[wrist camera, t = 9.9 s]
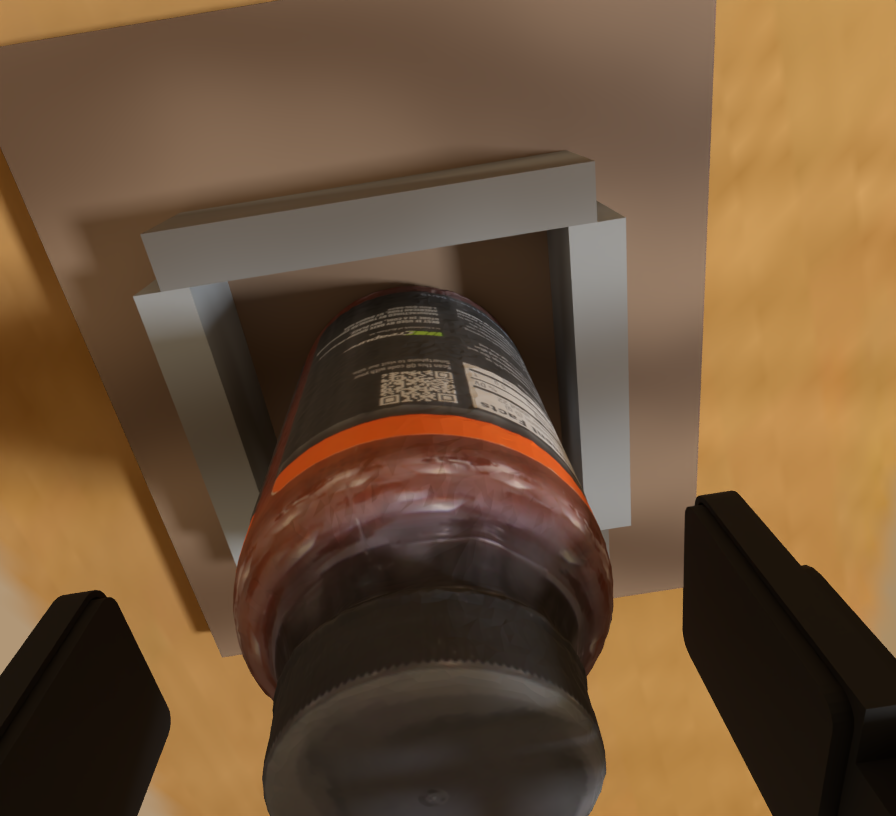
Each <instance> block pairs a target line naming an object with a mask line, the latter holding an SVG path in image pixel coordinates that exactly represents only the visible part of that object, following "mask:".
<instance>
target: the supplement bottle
mask: <svg viewBox="0 0 896 816" xmlns="http://www.w3.org/2000/svg"><path fill="white" fill-rule="evenodd" d="M612 612H613V577H612V566H611V563H610V559H609V555H608V552H607V548H606V542H605V540H604V538H603V536H602V533H601V530H600V527H599V525H598V523H597V521H596V519H595V517H594V515H593V512H592V510H591V508H590V506H589V504H588V502H587V499H586V496H585V493H584V491H583V489H582V487H581V485H580V483H579V481H578V479H577V477H576V475H575V472H574V470H573V468H572V466H571V464H570V462H569V459H568V457H567V455H566V453H565V451H564V449H563V447H562V444H561V442H560V440H559V438H558V436H557V434H556V432H555V429H554V427H553V425H552V423H551V421H550V419H549V416H548V414H547V412H546V410H545V408H544V405H543V403H542V401H541V399H540V396H539V394H538V392H537V390H536V388H535V386H534V384H533V382H532V380H531V377H530V375H529V373H528V371H527V369H526V366H525V364H524V362H523V359H522V357H521V355H520V353H519V350H518V349H517V347H516V346H515V344H514V343H513V341H512V339H511V338H510V337H509V335H508V334H507V332H506V331H505V329H504V328H503V327H502V326H501V324H500V323H499V322H498V321H497V319H496V318H494V317H493V316H492V315H491V314H490V313H489V312H488V311H486V310H485V309H483V308H482V307H480V306H479V305H478V304H477V303H475V302H473V301H471V300H470V299H468V298H466V297H464V296H462V295H459V294H457V293H455V292H453V291H449V290H442V289H437V288H433V287H423V286H399V287H394V288H390V289H385V290H381V291H377V292H374V293H371V294H369V295H368V296H364V297H362V298H360V299H358V300H356V301H354V302H353V303H351V304H350V305H348V306H347V307H345V308H344V309H343V310H342V311H340V312H339V313H338V314H337V315H336V316H335V317H334V318H333V319H332V320H331V321H330V322H329V323H328V324H327V325H326V326H325V328H324V329H323V330H322V331H321V333H320V334H319V336H318V337H317V339H316V340H315V342H314V344H313V346H312V348H311V350H310V352H309V354H308V357H307V359H306V362H305V363H304V365H303V368H302V370H301V373H300V377H299V379H298V382H297V385H296V388H295V391H294V394H293V397H292V401H291V404H290V406H289V409H288V412H287V415H286V417H285V420H284V424H283V427H282V429H281V432H280V435H279V437H278V441H277V444H276V447H275V450H274V452H273V456H272V459H271V462H270V465H269V468H268V471H267V474H266V476H265V479H264V482H263V484H262V486H261V490H260V494H259V496H258V499H257V502H256V504H255V507H254V510H253V513H252V516H251V519H250V524H249V528H248V531H247V534H246V537H245V540H244V543H243V546H242V550H241V553H240V556H239V560H238V564H237V569H236V576H235V583H234V591H233V614H234V621H235V628H236V634H237V638H238V643H239V646H240V649H241V652H242V655H243V657H244V660H245V661H246V664H247V666H248V668H249V670H250V672H251V674H252V676H253V677H254V679H255V680H256V682H257V683H258V685H259V686H260V688H261V689H262V690H263V692H264V693H265V694H266V695H267V696H269V697H270V698H271V699H272V700H273V704H274V705H273V720H272V726H271V732H270V738H269V742H268V746H267V751H266V755H265V760H264V768H263V776H262V780H263V790H264V799H265V802H266V806H267V810H268V812H269V814H270V816H588V815H589V814H590V812H591V811H592V809H593V807H594V805H595V803H596V801H597V798H598V796H599V794H600V792H601V789H602V784H603V780H604V777H605V775H606V760H605V750H604V745H603V740H602V737H601V733H600V730H599V726H598V723H597V720H596V716H595V713H594V711H593V708H592V706H591V703H590V699H589V696H588V692H587V690H588V688H587V675H588V674H589V672H590V671H591V669H592V668H593V666H594V664H595V662H596V660H597V658H598V656H599V655H600V653H601V651H602V649H603V646H604V642H605V639H606V637H607V634H608V632H609V627H610V623H611V620H612Z"/></svg>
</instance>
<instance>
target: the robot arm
mask: <svg viewBox="0 0 896 816" xmlns="http://www.w3.org/2000/svg"><path fill="white" fill-rule="evenodd" d="M683 637H684V641H685V645H686V648H687V651H688V653H689V655H690V657H691V659H692V661H693V663H694V665H695V667H696V669H697V671H698V672H699V674H700V676H701V678H702V680H703V682H704V684H705V686H706V688H707V690H708V692H709V694H710V696H711V698H712V699H713V701H714V703H715V705H716V707H717V709H718V711H719V713H720V715H721V717H722V719H723V721H724V723H725V725H726V726H727V728H728V730H729V732H730V734H731V736H732V738H733V740H734V742H735V744H736V746H737V748H738V750H739V752H740V754H741V755H742V757H743V759H744V761H745V763H746V765H747V767H748V769H749V771H750V773H751V775H752V777H753V779H754V781H755V782H756V784H757V786H758V788H759V790H760V792H761V794H762V796H763V798H764V800H765V802H766V804H767V806H768V808H769V810H770V811H771V813H772V815H773V816H896V658H895V657H894V656H893V655H892V654H891V653H890V652H889V651H888V649H887V648H886V647H885V646H884V645H883V644H882V643H881V642H880V640H879V639H878V638H877V637H876V636H875V635H874V634H873V633H872V631H871V630H870V629H869V628H868V627H867V626H866V625H865V624H864V622H863V621H862V620H861V619H860V618H859V617H858V616H857V615H856V614H855V612H854V611H853V610H852V609H851V608H850V607H849V606H848V605H847V603H846V602H845V601H844V600H843V599H842V598H841V597H840V596H839V594H838V593H837V592H836V591H835V590H834V589H833V588H832V587H831V585H830V584H829V583H828V582H827V581H826V580H825V579H824V578H823V576H822V575H821V574H820V573H818V572H817V571H816V570H815V569H814V568H812V567H810V566H807V565H803V566H801V565H800V564H799V563H798V562H797V561H796V560H795V558H794V557H793V556H792V555H791V554H790V553H789V551H788V550H787V549H786V548H785V547H784V546H783V545H782V543H781V542H780V541H779V540H778V539H777V538H776V536H775V535H774V534H773V533H772V532H771V531H770V529H769V528H768V527H767V526H766V525H765V524H764V523H763V521H762V520H761V519H760V518H759V517H758V516H757V514H756V513H755V512H754V511H753V510H752V509H751V507H750V506H749V505H748V504H747V503H746V502H745V501H744V499H743V498H742V497H741V496H740V495H739V494H738V493H737V492H736V491H726V492H720V493H713V494H707V495H701V496H698V497H697V498H696V500H695V505H694V506H689V507H687V508H686V510H685V524H684V579H683ZM170 724H171V717H170V711H169V708H168V706H167V704H166V702H165V700H164V698H163V696H162V694H161V692H160V690H159V688H158V686H157V684H156V682H155V679H154V677H153V675H152V673H151V671H150V669H149V667H148V665H147V663H146V661H145V659H144V657H143V655H142V653H141V651H140V649H139V647H138V645H137V643H136V640H135V638H134V636H133V634H132V632H131V630H130V628H129V626H128V624H127V622H126V620H125V618H124V616H123V614H122V612H121V610H120V608H119V606H118V604H117V602H116V601H115V599H113V598H111V597H106V595H105V594H104V593H103V592H101V591H98V590H93V591H87V592H80V593H74V594H68V595H62V596H60V597H58V598H57V599H56V600H55V601H54V602H53V603H52V605H51V606H50V607H49V609H48V610H47V611H46V613H45V614H44V616H43V617H42V618H41V620H40V621H39V623H38V624H37V625H36V627H35V628H34V630H33V631H32V632H31V634H30V635H29V637H28V638H27V639H26V641H25V642H24V643H23V645H22V646H21V648H20V649H19V651H18V652H17V653H16V655H15V656H14V658H13V659H12V660H11V662H10V663H9V664H8V666H7V667H6V668H5V670H4V671H3V673H2V674H1V675H0V816H137V815H138V813H139V810H140V807H141V805H142V802H143V800H144V797H145V794H146V792H147V789H148V786H149V784H150V781H151V779H152V776H153V773H154V771H155V768H156V766H157V763H158V760H159V758H160V755H161V752H162V750H163V747H164V745H165V742H166V739H167V737H168V734H169V730H170Z"/></svg>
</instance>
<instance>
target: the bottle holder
mask: <svg viewBox="0 0 896 816" xmlns="http://www.w3.org/2000/svg"><path fill="white" fill-rule="evenodd" d="M715 20H716V0H278V1H272V2H266V3H260V4H254V5H248V6H242V7H236V8H230V9H224V10H218V11H212V12H206V13H200V14H194V15H188V16H182V17H176V18H170V19H164V20H158V21H152V22H146V23H140V24H134V25H128V26H122V27H116V28H110V29H104V30H98V31H92V32H86V33H80V34H74V35H68V36H62V37H56V38H50V39H44V40H38V41H31V42H25V43H19V44H13V45H7V46H1V47H0V147H1V150H2V152H3V154H4V157H5V159H6V161H7V163H8V166H9V168H10V170H11V173H12V175H13V177H14V180H15V182H16V184H17V186H18V189H19V191H20V193H21V196H22V198H23V200H24V203H25V205H26V207H27V209H28V212H29V214H30V216H31V219H32V221H33V223H34V226H35V228H36V230H37V232H38V235H39V237H40V239H41V242H42V244H43V246H44V249H45V251H46V253H47V255H48V258H49V260H50V262H51V265H52V267H53V269H54V272H55V274H56V276H57V278H58V281H59V283H60V285H61V288H62V290H63V292H64V295H65V297H66V299H67V301H68V304H69V306H70V308H71V311H72V313H73V315H74V318H75V320H76V322H77V325H78V327H79V329H80V331H81V334H82V336H83V338H84V341H85V343H86V345H87V348H88V350H89V352H90V354H91V357H92V359H93V361H94V364H95V366H96V368H97V371H98V373H99V375H100V377H101V380H102V382H103V384H104V387H105V389H106V391H107V394H108V396H109V398H110V400H111V403H112V405H113V407H114V410H115V412H116V414H117V417H118V419H119V421H120V423H121V426H122V428H123V430H124V433H125V435H126V437H127V440H128V442H129V444H130V446H131V449H132V451H133V453H134V456H135V458H136V460H137V463H138V465H139V467H140V469H141V472H142V474H143V476H144V479H145V481H146V483H147V486H148V488H149V490H150V492H151V495H152V497H153V499H154V502H155V504H156V506H157V509H158V511H159V513H160V515H161V518H162V520H163V522H164V525H165V527H166V529H167V532H168V534H169V536H170V539H171V541H172V543H173V545H174V548H175V550H176V552H177V555H178V557H179V559H180V562H181V564H182V566H183V568H184V571H185V573H186V575H187V578H188V580H189V582H190V585H191V587H192V589H193V591H194V594H195V596H196V598H197V601H198V603H199V605H200V608H201V610H202V612H203V614H204V617H205V619H206V621H207V624H208V626H209V628H210V631H211V633H212V635H213V637H214V640H215V642H216V644H217V647H218V649H219V651H220V654H221V656H222V657H228V656H235V655H241V654H242V652H241V649H240V646H239V643H238V638H237V634H236V628H235V621H234V614H233V591H234V583H235V576H236V569H237V564H238V560H239V556H240V553H241V550H242V546H243V543H244V540H245V537H246V534H247V531H248V528H249V524H250V519H251V516H252V513H253V510H254V507H255V504H256V502H257V499H258V496H259V494H260V490H261V486H262V484H263V482H264V479H265V476H266V474H267V471H268V468H269V465H270V462H271V459H272V456H273V452H274V450H275V447H276V444H277V441H278V437H279V435H280V432H281V429H282V427H283V424H284V420H285V417H286V415H287V412H288V409H289V406H290V404H291V401H292V397H293V394H294V391H295V388H296V385H297V382H298V379H299V377H300V373H301V370H302V368H303V365H304V363H305V362H306V359H307V357H308V354H309V352H310V350H311V348H312V346H313V344H314V342H315V340H316V339H317V337H318V336H319V334H320V333H321V331H322V330H323V329H324V328H325V326H326V325H327V324H328V323H329V322H330V321H331V320H332V319H333V318H334V317H335V316H336V315H337V314H338V313H339V312H340V311H342V310H343V309H344V308H345V307H347V306H348V305H350V304H351V303H353V302H354V301H356V300H358V299H360V298H362V297H364V296H368V295H369V294H371V293H374V292H377V291H381V290H385V289H390V288H394V287H399V286H423V287H433V288H437V289H442V290H449V291H453V292H455V293H457V294H459V295H462V296H464V297H466V298H468V299H470V300H471V301H473V302H475V303H477V304H478V305H479V306H480V307H482V308H483V309H485V310H486V311H488V312H489V313H490V314H491V315H492V316H493V317H494V318H496V319H497V321H498V322H499V323H500V324H501V326H502V327H503V328H504V329H505V331H506V332H507V334H508V335H509V337H510V338H511V339H512V341H513V343H514V344H515V346H516V347H517V349H518V350H519V353H520V355H521V357H522V359H523V362H524V364H525V366H526V369H527V371H528V373H529V375H530V377H531V380H532V382H533V384H534V386H535V388H536V390H537V392H538V394H539V396H540V399H541V401H542V403H543V405H544V408H545V410H546V412H547V414H548V416H549V419H550V421H551V423H552V425H553V427H554V429H555V432H556V434H557V436H558V438H559V440H560V442H561V444H562V447H563V449H564V451H565V453H566V455H567V457H568V459H569V462H570V464H571V466H572V468H573V470H574V472H575V475H576V477H577V479H578V481H579V483H580V485H581V487H582V489H583V491H584V493H585V496H586V499H587V502H588V504H589V506H590V508H591V510H592V512H593V515H594V517H595V519H596V521H597V523H598V525H599V527H600V530H601V533H602V536H603V538H604V540H605V542H606V548H607V552H608V555H609V559H610V563H611V566H612V577H613V598H617V597H624V596H630V595H637V594H643V593H650V592H657V591H663V590H670V589H676V588H683V579H684V524H685V510H686V508H687V507H689V506H694V505H695V500H696V489H697V464H698V439H699V415H700V390H701V365H702V340H703V316H704V291H705V266H706V242H707V217H708V192H709V168H710V143H711V118H712V94H713V69H714V44H715Z"/></svg>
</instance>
